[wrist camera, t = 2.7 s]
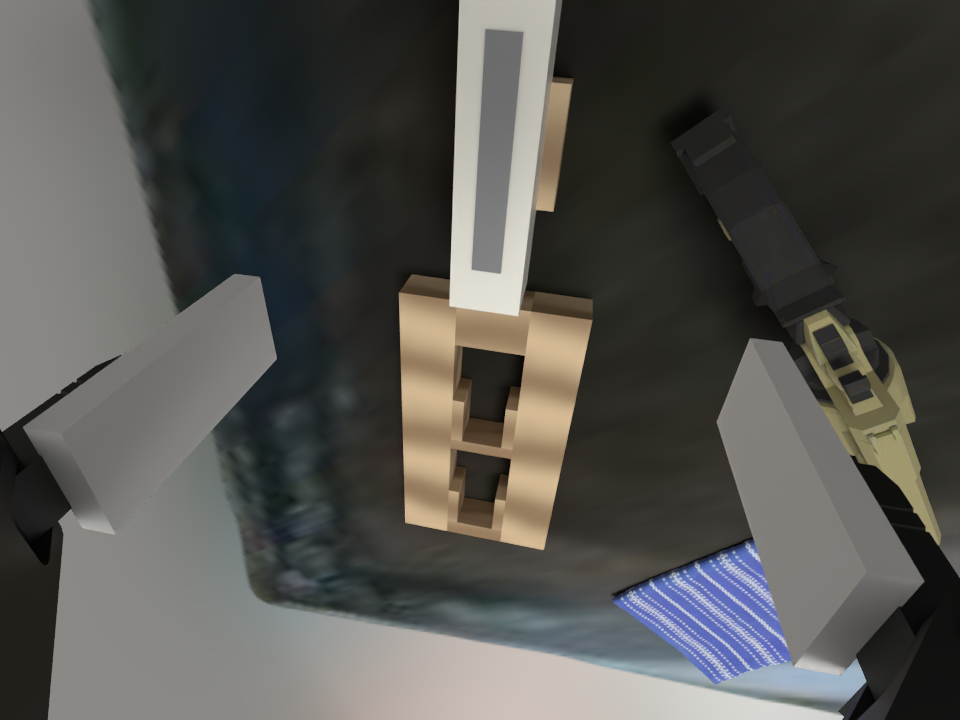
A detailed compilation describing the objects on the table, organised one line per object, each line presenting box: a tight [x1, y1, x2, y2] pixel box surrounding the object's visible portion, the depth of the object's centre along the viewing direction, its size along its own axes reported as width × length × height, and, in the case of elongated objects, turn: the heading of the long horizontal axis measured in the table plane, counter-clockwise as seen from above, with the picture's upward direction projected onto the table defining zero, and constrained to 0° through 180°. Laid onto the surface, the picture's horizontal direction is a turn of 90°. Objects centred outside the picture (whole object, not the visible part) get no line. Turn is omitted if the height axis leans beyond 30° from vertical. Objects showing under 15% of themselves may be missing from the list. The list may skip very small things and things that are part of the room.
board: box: [399, 274, 593, 550], centre depth 42 cm, size 24×13×3 cm, turn 176°
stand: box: [453, 77, 574, 212], centre depth 30 cm, size 7×6×3 cm
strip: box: [449, 0, 562, 316], centre depth 28 cm, size 16×4×7 cm, turn 176°
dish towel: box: [613, 539, 791, 684], centre depth 49 cm, size 17×24×3 cm
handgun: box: [670, 106, 941, 545], centre depth 31 cm, size 4×30×16 cm, turn 39°
